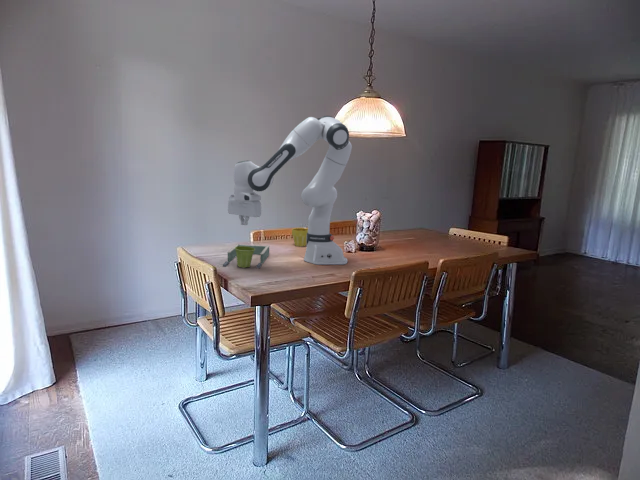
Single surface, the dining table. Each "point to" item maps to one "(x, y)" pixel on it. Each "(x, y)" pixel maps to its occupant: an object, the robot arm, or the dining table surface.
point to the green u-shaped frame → (259, 250)
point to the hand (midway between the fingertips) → (244, 224)
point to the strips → (228, 263)
